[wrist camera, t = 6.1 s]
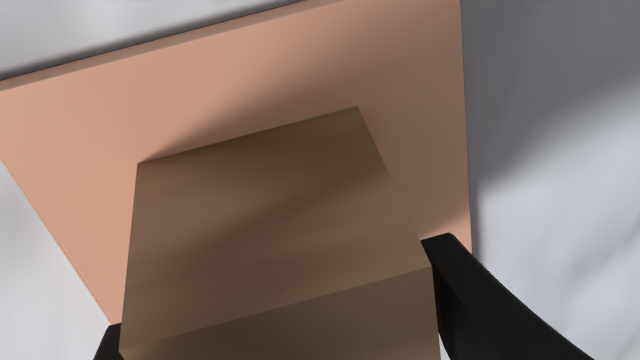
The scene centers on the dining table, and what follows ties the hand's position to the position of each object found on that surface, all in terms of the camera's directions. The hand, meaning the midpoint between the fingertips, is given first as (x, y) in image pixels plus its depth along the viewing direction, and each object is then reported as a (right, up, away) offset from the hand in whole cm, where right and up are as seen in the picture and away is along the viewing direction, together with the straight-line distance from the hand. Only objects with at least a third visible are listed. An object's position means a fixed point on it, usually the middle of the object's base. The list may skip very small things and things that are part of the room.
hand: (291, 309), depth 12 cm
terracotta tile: (-1, +2, +3) cm, 3 cm away
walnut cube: (-1, +2, +2) cm, 3 cm away
